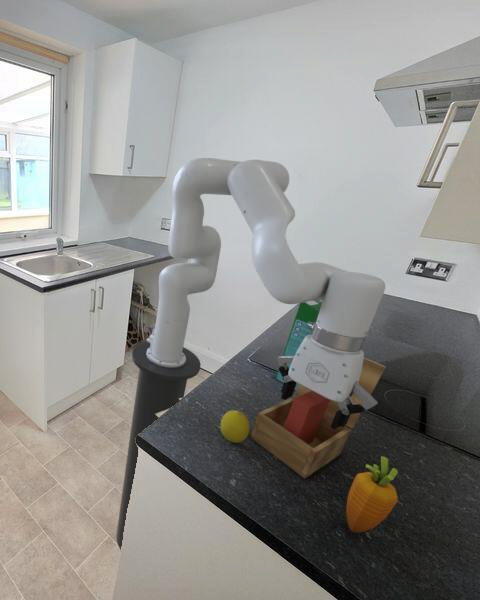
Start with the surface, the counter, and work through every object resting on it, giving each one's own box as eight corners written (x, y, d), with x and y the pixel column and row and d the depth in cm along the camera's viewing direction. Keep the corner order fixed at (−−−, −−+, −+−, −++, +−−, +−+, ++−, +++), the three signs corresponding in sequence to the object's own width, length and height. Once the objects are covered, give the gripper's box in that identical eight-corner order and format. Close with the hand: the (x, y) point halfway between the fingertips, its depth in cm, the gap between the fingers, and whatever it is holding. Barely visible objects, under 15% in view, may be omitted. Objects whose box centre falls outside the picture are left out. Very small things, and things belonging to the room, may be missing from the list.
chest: (304, 478, 60) (315, 452, 58) (250, 437, 70) (258, 412, 68) (340, 454, 67) (351, 429, 64) (285, 419, 76) (294, 396, 74)
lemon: (233, 430, 72) (242, 402, 69) (250, 449, 67) (259, 420, 64) (212, 432, 71) (219, 404, 68) (226, 452, 66) (235, 422, 63)
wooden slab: (384, 366, 60) (386, 366, 60) (319, 340, 69) (320, 340, 70) (351, 428, 64) (353, 427, 64) (293, 395, 73) (295, 394, 74)
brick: (277, 444, 67) (293, 398, 63) (298, 432, 71) (315, 388, 67) (291, 454, 65) (309, 408, 61) (312, 441, 69) (331, 397, 64)
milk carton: (305, 396, 85) (337, 312, 76) (274, 378, 93) (300, 300, 84) (325, 389, 89) (358, 308, 80) (294, 372, 96) (320, 296, 87)
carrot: (365, 554, 48) (406, 485, 43) (328, 525, 52) (361, 458, 47) (376, 536, 51) (416, 469, 45) (340, 510, 55) (373, 445, 49)
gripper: (279, 323, 64) (259, 392, 70) (386, 364, 50) (349, 447, 56) (300, 317, 67) (279, 384, 73) (405, 355, 53) (369, 433, 59)
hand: (309, 411), depth 65 cm, fingers open, 9 cm apart
